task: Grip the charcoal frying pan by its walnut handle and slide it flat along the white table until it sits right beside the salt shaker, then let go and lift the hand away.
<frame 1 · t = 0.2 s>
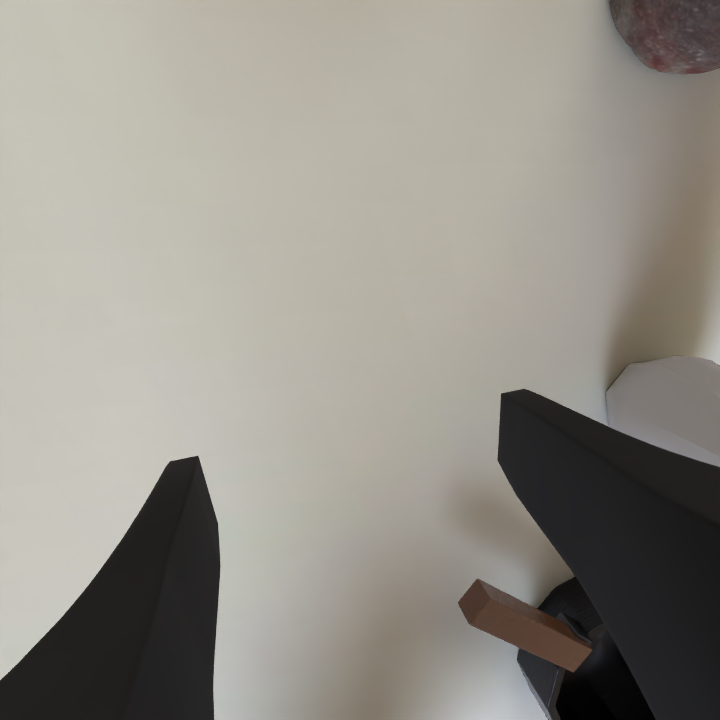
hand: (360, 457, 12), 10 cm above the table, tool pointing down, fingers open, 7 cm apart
pan: (594, 633, 32), on the table
salt shaker: (637, 395, 27), on the table
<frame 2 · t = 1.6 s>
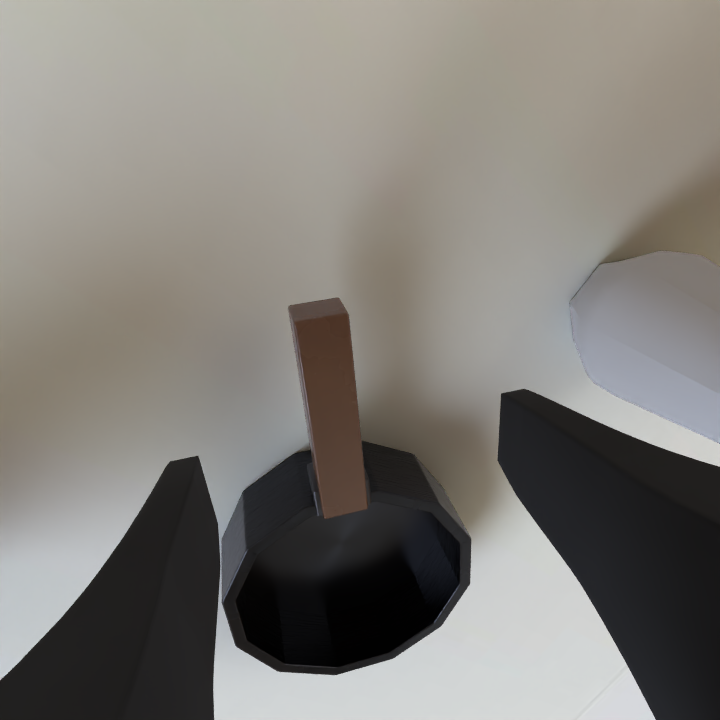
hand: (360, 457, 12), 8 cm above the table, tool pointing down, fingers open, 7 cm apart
pan: (339, 534, 24), on the table
salt shaker: (610, 304, 22), on the table
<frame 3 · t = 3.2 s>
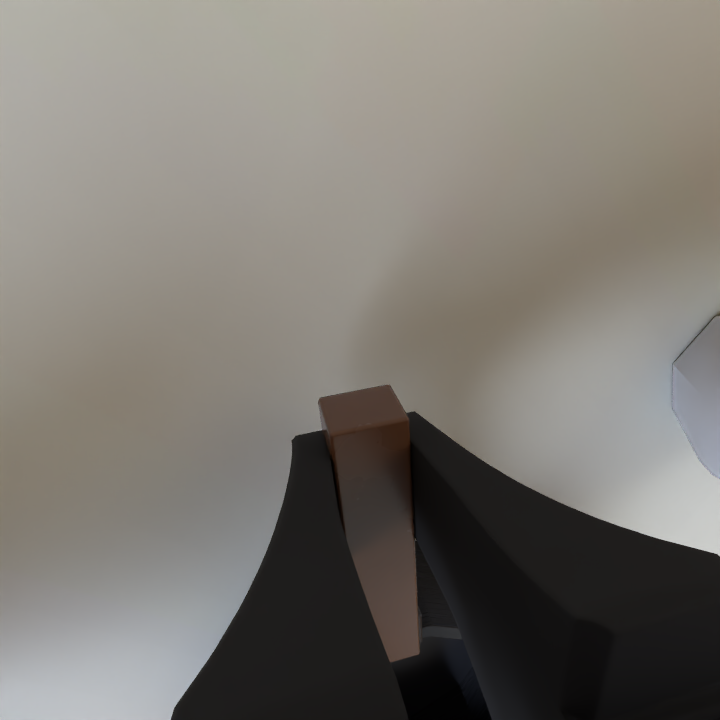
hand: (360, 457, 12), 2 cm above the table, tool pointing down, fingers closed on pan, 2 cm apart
pan: (369, 644, 19), on the table, touching gripper
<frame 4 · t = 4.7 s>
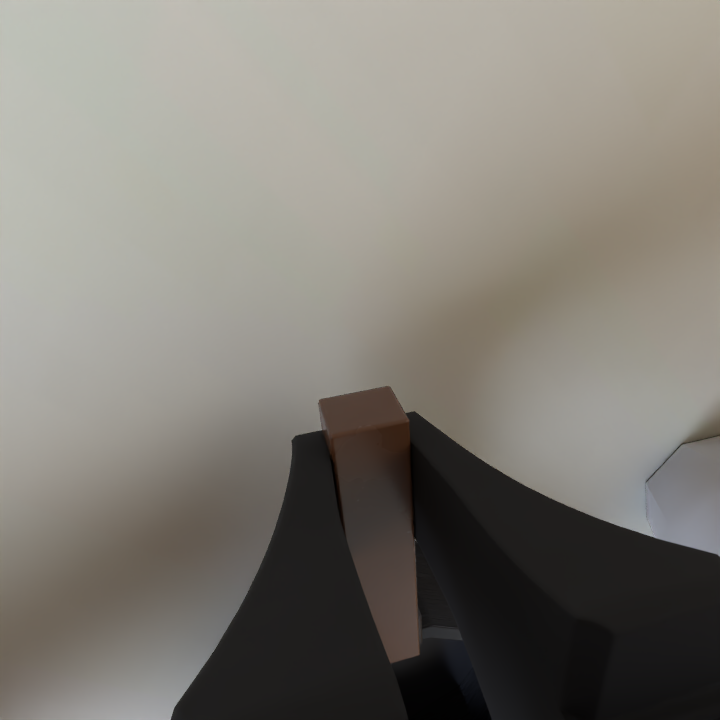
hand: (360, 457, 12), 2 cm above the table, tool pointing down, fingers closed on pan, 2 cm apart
pan: (369, 644, 19), on the table, touching gripper
salt shaker: (688, 477, 19), on the table
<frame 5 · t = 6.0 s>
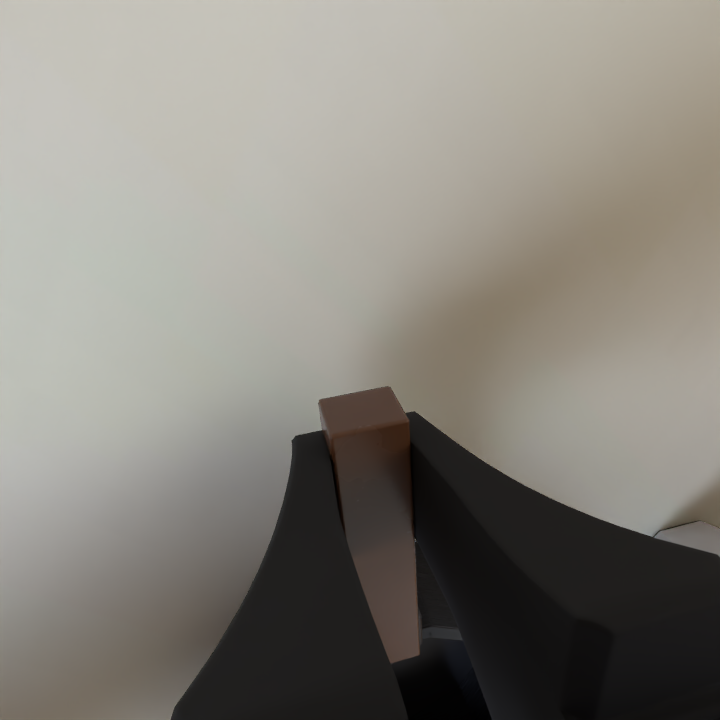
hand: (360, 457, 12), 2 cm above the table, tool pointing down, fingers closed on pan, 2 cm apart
pan: (369, 644, 19), on the table, touching gripper
salt shaker: (666, 556, 21), on the table
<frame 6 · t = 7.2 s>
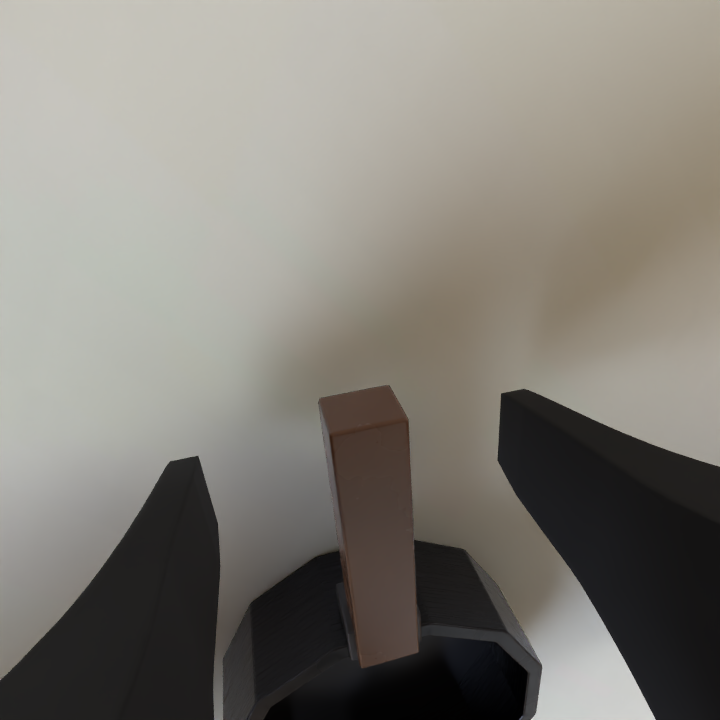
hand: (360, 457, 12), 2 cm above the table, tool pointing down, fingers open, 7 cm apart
pan: (368, 642, 19), on the table
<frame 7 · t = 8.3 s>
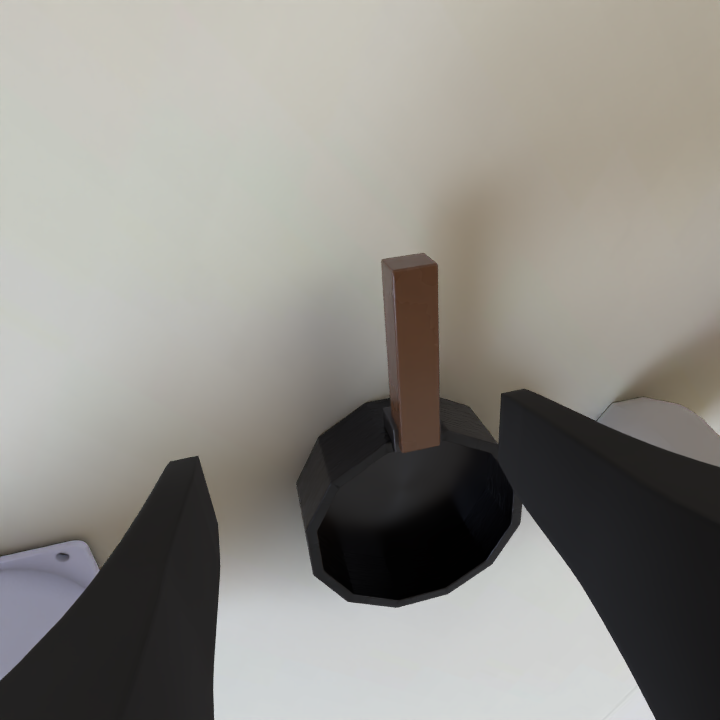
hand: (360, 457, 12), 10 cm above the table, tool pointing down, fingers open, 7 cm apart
pan: (398, 481, 26), on the table
salt shaker: (619, 427, 28), on the table
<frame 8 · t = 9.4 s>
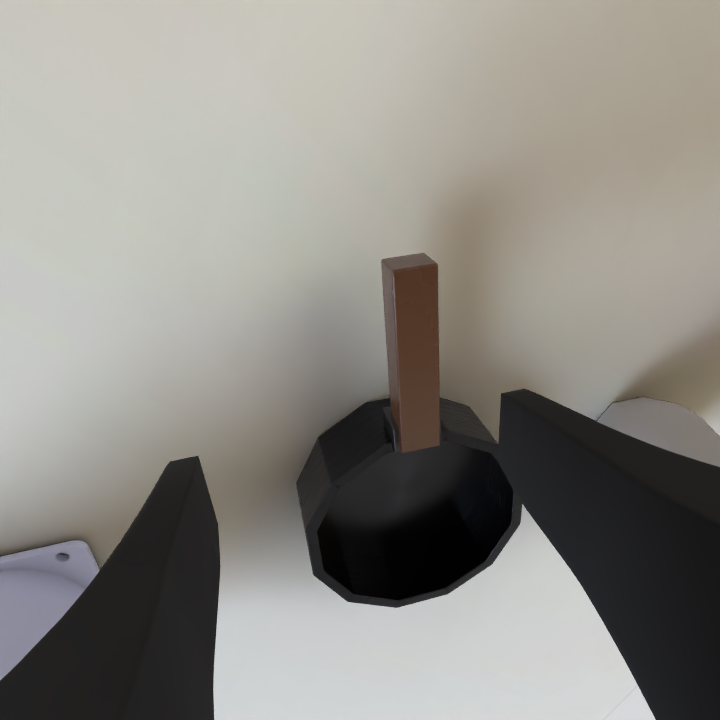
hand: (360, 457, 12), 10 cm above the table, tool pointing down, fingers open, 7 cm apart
pan: (398, 481, 26), on the table
salt shaker: (619, 427, 28), on the table
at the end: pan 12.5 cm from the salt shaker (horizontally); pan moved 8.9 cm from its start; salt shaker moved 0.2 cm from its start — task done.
